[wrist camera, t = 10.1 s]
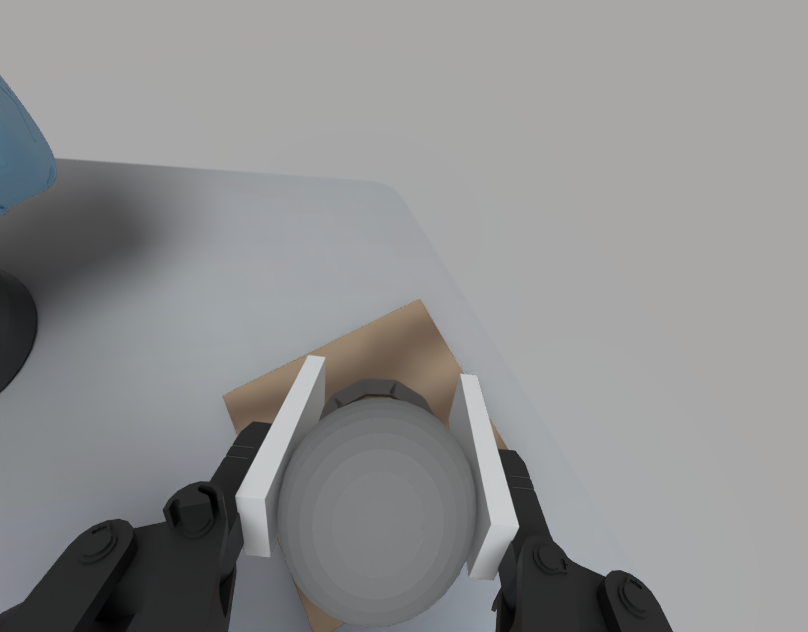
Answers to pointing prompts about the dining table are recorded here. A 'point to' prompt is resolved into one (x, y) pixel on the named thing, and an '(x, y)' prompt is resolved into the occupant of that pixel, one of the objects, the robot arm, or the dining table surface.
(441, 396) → the lamp holder
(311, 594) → the light bulb
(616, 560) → the dining table surface
